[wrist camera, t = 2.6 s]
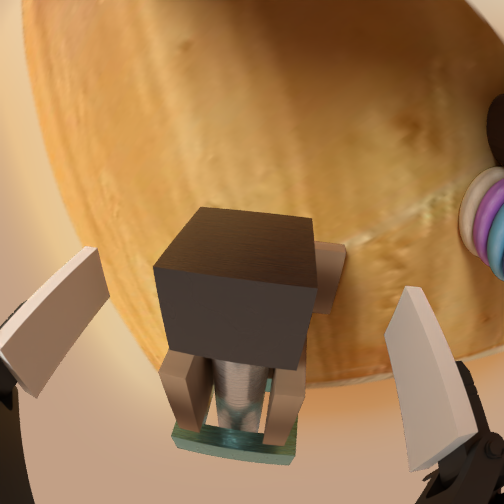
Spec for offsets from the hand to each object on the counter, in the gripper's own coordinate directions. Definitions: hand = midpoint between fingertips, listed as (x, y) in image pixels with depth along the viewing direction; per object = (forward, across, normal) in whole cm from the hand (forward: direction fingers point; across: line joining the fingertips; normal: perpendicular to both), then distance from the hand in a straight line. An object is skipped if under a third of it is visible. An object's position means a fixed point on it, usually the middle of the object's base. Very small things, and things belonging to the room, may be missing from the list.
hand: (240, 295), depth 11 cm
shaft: (+3, 0, -6) cm, 7 cm away
